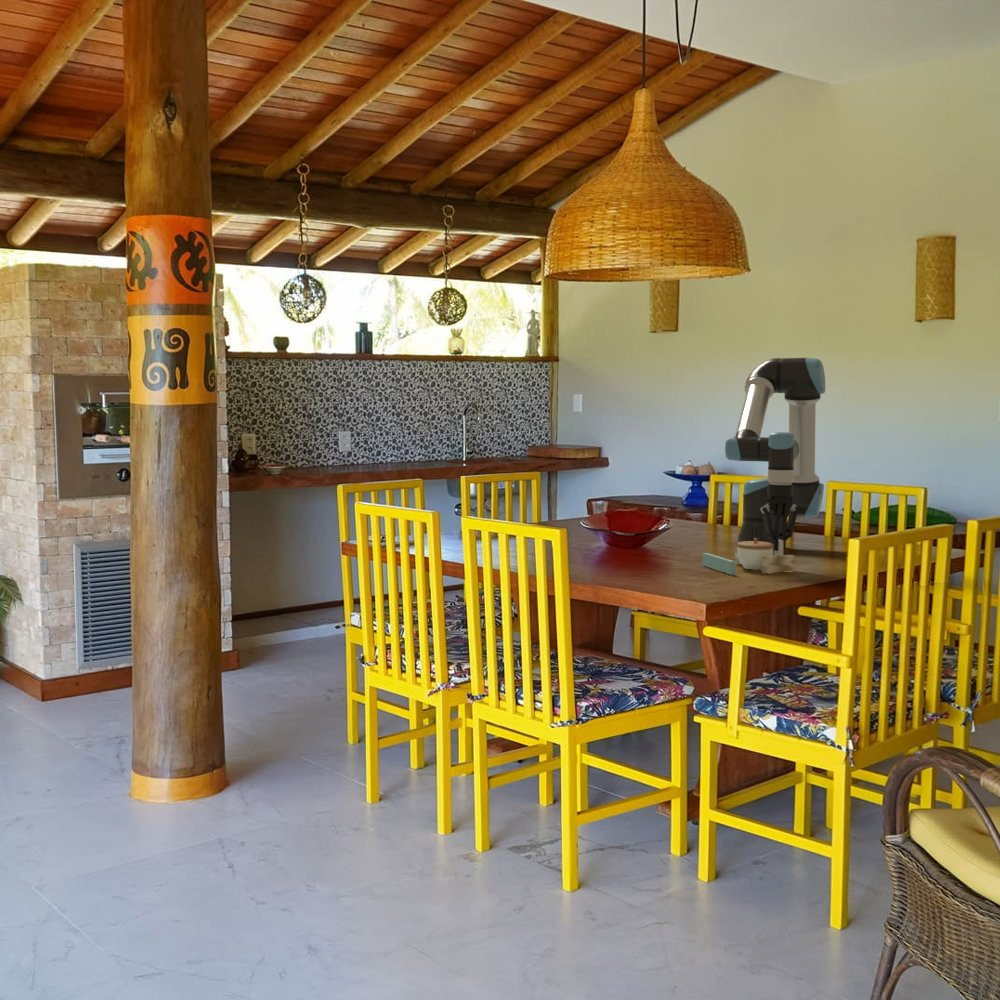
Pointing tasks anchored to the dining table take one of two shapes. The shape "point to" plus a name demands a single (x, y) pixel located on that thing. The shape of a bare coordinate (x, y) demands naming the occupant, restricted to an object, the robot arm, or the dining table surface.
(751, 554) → the lidded jar
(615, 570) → the dining table surface
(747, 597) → the dining table surface
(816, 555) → the dining table surface
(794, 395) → the robot arm
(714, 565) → the bar
